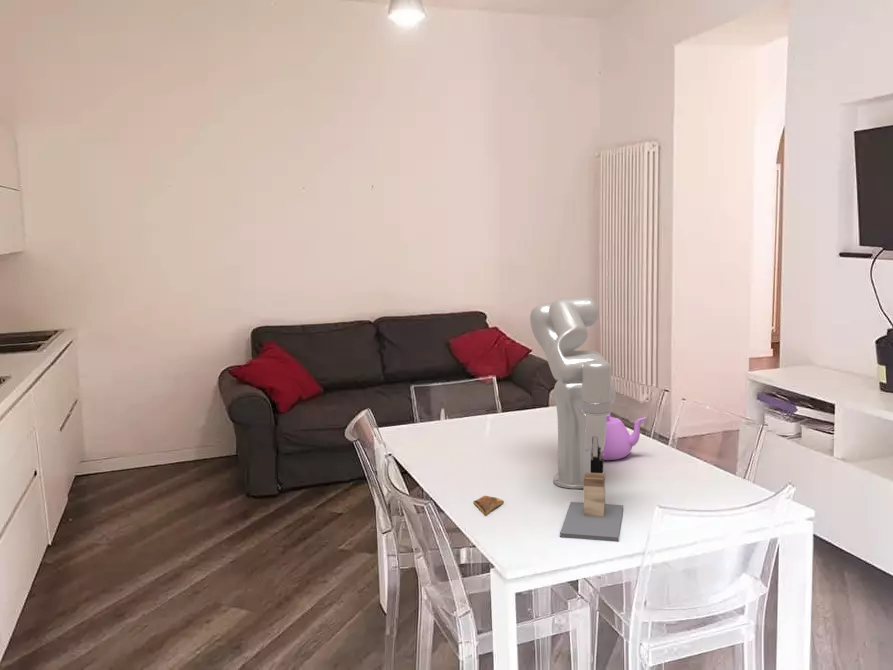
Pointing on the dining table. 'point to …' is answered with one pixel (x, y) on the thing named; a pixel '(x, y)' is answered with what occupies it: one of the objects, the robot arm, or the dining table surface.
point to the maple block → (594, 494)
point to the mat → (592, 523)
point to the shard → (488, 504)
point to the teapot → (619, 438)
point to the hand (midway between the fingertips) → (596, 473)
